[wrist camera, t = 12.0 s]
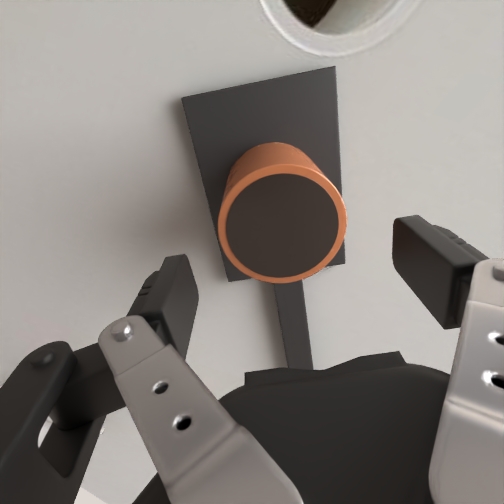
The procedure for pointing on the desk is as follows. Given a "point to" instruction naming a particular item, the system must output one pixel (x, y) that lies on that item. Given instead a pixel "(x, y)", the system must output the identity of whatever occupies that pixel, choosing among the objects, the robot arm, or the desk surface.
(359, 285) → the desk surface
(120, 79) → the desk surface
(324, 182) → the copper pot
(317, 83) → the spatula
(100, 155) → the desk surface
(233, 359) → the desk surface
